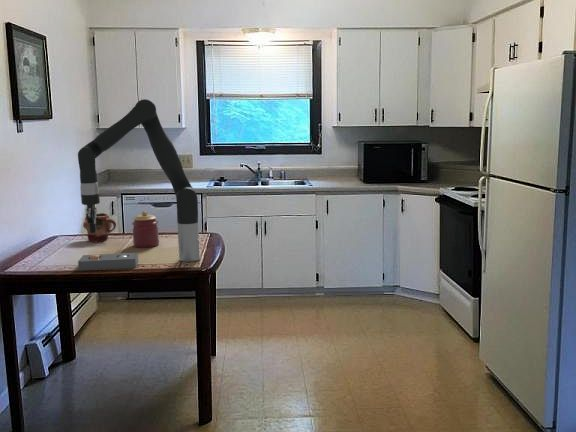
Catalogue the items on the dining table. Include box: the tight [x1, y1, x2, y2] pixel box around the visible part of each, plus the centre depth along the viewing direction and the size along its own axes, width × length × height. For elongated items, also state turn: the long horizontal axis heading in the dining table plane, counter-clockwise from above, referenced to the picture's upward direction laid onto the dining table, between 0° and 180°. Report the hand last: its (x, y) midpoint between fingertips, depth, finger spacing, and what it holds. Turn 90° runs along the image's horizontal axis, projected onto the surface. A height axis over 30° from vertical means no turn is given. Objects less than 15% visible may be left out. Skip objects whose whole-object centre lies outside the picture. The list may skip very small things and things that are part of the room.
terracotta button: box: [90, 254, 100, 259], centre depth 272 cm, size 4×4×3 cm
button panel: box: [77, 252, 139, 271], centre depth 273 cm, size 24×12×4 cm, turn 98°
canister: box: [131, 210, 160, 249], centre depth 312 cm, size 13×13×18 cm
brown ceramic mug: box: [82, 212, 117, 243], centre depth 327 cm, size 20×12×14 cm, turn 76°
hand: (93, 232), depth 270 cm, fingers closed
